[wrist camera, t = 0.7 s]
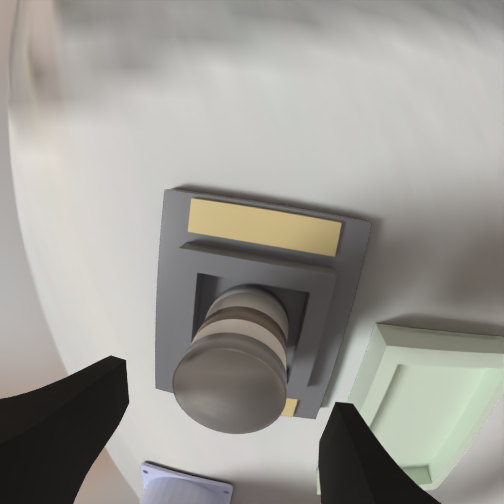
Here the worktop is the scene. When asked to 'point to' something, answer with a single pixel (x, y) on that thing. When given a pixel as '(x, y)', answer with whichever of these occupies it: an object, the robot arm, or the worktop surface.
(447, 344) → the parts tray
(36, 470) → the robot arm
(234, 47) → the worktop surface
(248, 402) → the cylinder
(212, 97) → the worktop surface
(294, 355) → the fuse holder
